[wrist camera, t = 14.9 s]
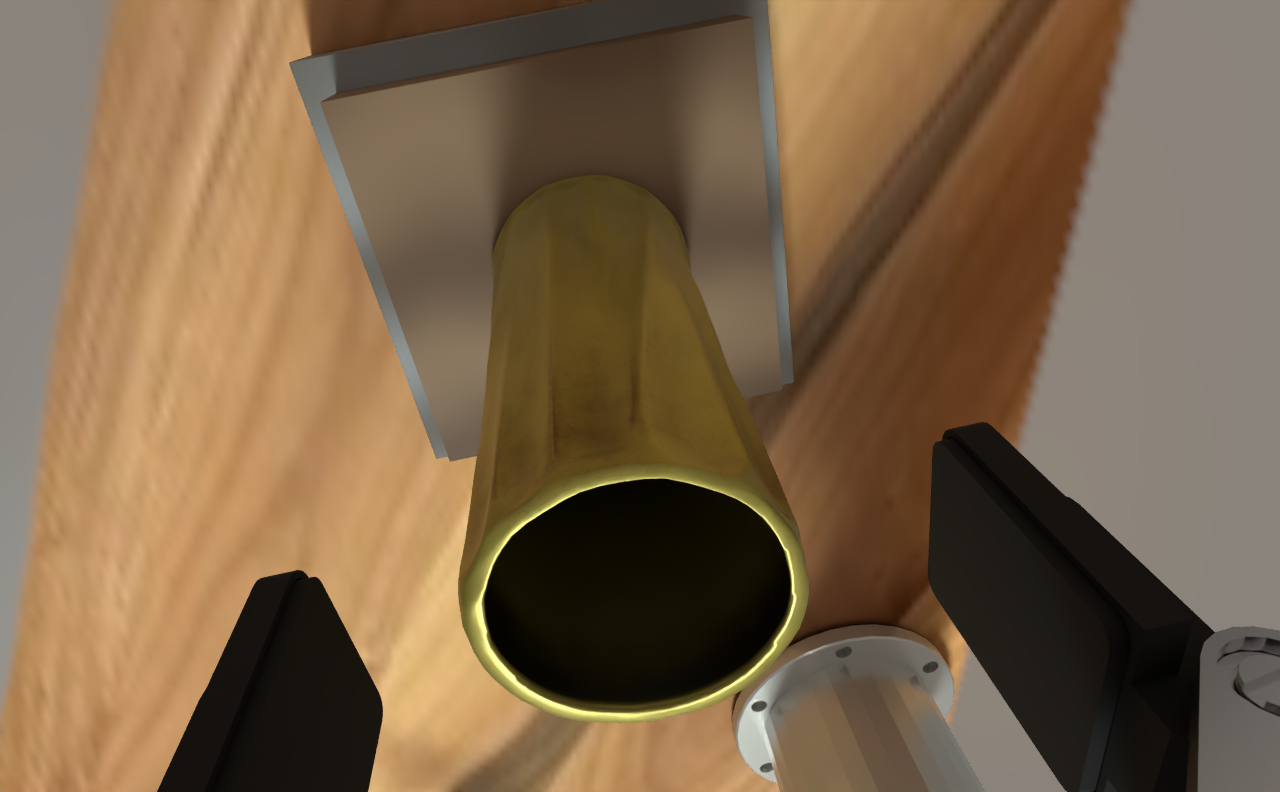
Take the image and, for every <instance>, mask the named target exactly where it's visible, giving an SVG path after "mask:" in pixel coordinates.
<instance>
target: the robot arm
mask: <svg viewBox="0 0 1280 792" xmlns="http://www.w3.org/2000/svg"><path fill="white" fill-rule="evenodd" d="M928 577H929V581H930V585H931V588H932V590H933V592H934V594H935V596H936V598H937V599H938V601H939V602H940V604H941V605H942V607H943V608H944V610H945V611H946V613H947V614H948V616H949V617H950V619H951V620H952V622H953V623H954V625H955V626H956V628H957V629H958V631H959V632H960V634H961V635H962V637H963V638H964V640H965V641H966V643H967V644H968V646H969V647H970V649H971V650H972V652H973V653H974V655H975V656H976V658H977V659H978V661H979V662H980V664H981V665H982V667H983V668H984V670H985V671H986V673H987V674H988V676H989V677H990V679H991V680H992V682H993V683H994V685H995V686H996V688H997V689H998V691H999V692H1000V694H1001V695H1002V697H1003V698H1004V700H1005V701H1006V703H1007V704H1008V706H1009V707H1010V709H1011V710H1012V712H1013V713H1014V715H1015V716H1016V718H1017V719H1018V721H1019V722H1020V724H1021V725H1022V727H1023V728H1024V730H1025V731H1026V733H1027V734H1028V736H1029V737H1030V739H1031V740H1032V742H1033V743H1034V745H1035V747H1036V748H1037V750H1038V751H1039V752H1040V754H1041V756H1042V757H1043V759H1044V760H1045V761H1046V763H1047V765H1048V766H1049V768H1050V769H1051V771H1052V772H1053V773H1054V775H1055V777H1056V778H1057V780H1058V781H1059V782H1060V784H1061V785H1062V786H1063V788H1064V789H1065V790H1066V791H1067V792H1280V631H1278V630H1273V629H1266V628H1260V627H1254V626H1251V627H1231V628H1228V629H1225V630H1222V631H1219V632H1214V631H1213V630H1212V629H1211V628H1210V627H1209V626H1208V625H1207V624H1205V623H1204V622H1203V621H1202V620H1201V619H1200V618H1199V617H1198V616H1197V615H1196V614H1195V613H1194V612H1193V611H1191V609H1190V608H1188V606H1186V605H1185V604H1184V603H1183V602H1182V601H1181V600H1180V599H1179V598H1178V597H1177V596H1176V595H1175V594H1174V593H1173V592H1172V591H1171V590H1170V589H1168V588H1167V587H1166V586H1165V585H1164V584H1163V583H1162V582H1161V581H1160V580H1159V579H1158V578H1157V577H1156V576H1155V575H1153V574H1152V573H1151V572H1150V571H1149V570H1148V569H1147V568H1146V567H1145V566H1144V565H1143V564H1142V563H1141V562H1140V561H1139V560H1138V559H1137V558H1136V557H1135V556H1133V555H1132V554H1131V553H1130V552H1129V551H1128V550H1127V549H1126V548H1125V547H1124V546H1123V545H1122V544H1121V543H1120V542H1119V541H1118V540H1117V539H1115V538H1114V537H1113V536H1112V535H1111V534H1110V533H1109V532H1108V531H1107V530H1106V529H1105V528H1104V527H1103V526H1102V525H1101V524H1100V523H1098V522H1097V521H1096V520H1095V519H1094V518H1093V517H1092V516H1091V515H1090V514H1089V513H1088V512H1087V511H1086V510H1085V509H1084V508H1083V507H1081V506H1080V505H1079V504H1078V503H1077V502H1075V501H1074V500H1073V499H1071V498H1069V497H1066V496H1065V495H1064V494H1063V493H1061V492H1060V491H1059V490H1058V489H1057V488H1056V487H1055V486H1054V485H1053V484H1052V483H1051V482H1050V481H1049V480H1048V479H1047V478H1046V477H1045V476H1044V475H1042V473H1040V472H1039V471H1038V470H1037V469H1036V468H1035V467H1034V466H1033V465H1032V464H1031V463H1030V462H1029V461H1028V460H1027V459H1026V458H1025V457H1024V456H1023V455H1022V454H1021V453H1019V452H1018V451H1017V450H1016V449H1015V448H1014V447H1013V446H1012V445H1011V444H1010V443H1009V442H1008V441H1007V440H1006V439H1005V438H1004V437H1003V436H1002V435H1001V434H1000V433H998V432H997V431H996V430H995V429H994V428H993V427H992V426H991V425H989V424H988V423H985V422H981V423H976V424H972V425H967V426H962V427H958V428H953V429H948V430H947V431H945V433H944V435H943V439H942V441H939V442H936V443H935V444H934V446H933V457H932V483H931V508H930V533H929V559H928ZM953 697H954V679H953V676H952V674H951V671H950V669H949V666H948V665H947V663H946V662H945V660H944V659H943V657H942V656H941V654H940V652H939V651H938V649H937V648H936V647H934V646H933V645H932V644H931V643H930V642H929V641H928V640H927V639H925V638H923V637H921V636H920V635H918V634H916V633H914V632H912V631H909V630H905V629H902V628H898V627H894V626H885V625H875V624H873V625H853V626H847V627H842V628H837V629H832V630H828V631H825V632H822V633H819V634H816V635H813V636H810V637H808V638H806V639H804V640H802V641H800V642H797V643H795V644H793V645H791V646H789V647H788V648H786V649H785V650H784V651H783V652H782V654H781V655H780V656H779V657H778V658H777V660H776V661H775V662H774V663H773V664H772V666H771V667H770V668H769V669H768V670H767V671H766V672H764V673H763V674H762V675H761V676H760V677H759V678H758V679H757V680H756V681H754V682H753V683H752V684H751V685H749V686H748V687H746V688H744V689H743V690H742V692H741V693H740V695H739V697H738V699H737V701H736V704H735V708H734V712H733V716H732V728H733V733H734V737H735V741H736V745H737V749H738V751H739V753H740V755H741V757H742V759H743V761H744V762H745V763H746V764H747V765H748V766H749V767H750V768H751V769H752V771H754V772H755V773H757V774H759V775H760V776H762V777H763V778H765V779H767V780H770V781H773V782H775V783H778V786H779V789H780V792H986V791H985V789H984V787H983V785H982V784H981V782H980V780H979V778H978V777H977V775H976V773H975V772H974V770H973V768H972V766H971V764H970V763H969V761H968V759H967V757H966V755H965V754H964V752H963V750H962V749H961V747H960V745H959V743H958V741H957V740H956V738H955V736H954V734H953V732H952V731H951V729H950V727H949V725H948V724H947V722H946V718H947V715H948V713H949V711H950V709H951V707H952V702H953ZM382 718H383V707H382V701H381V697H380V694H379V692H378V690H377V688H376V686H375V684H374V682H373V680H372V678H371V677H370V675H369V673H368V671H367V669H366V667H365V665H364V663H363V661H362V659H361V657H360V655H359V653H358V652H357V650H356V648H355V646H354V644H353V642H352V640H351V638H350V636H349V634H348V632H347V630H346V628H345V627H344V625H343V623H342V621H341V619H340V617H339V615H338V613H337V611H336V609H335V607H334V605H333V603H332V602H331V600H330V598H329V596H328V594H327V592H326V590H325V588H324V586H323V584H322V583H321V581H320V580H319V579H318V578H317V577H311V578H308V576H307V575H306V573H304V572H303V571H301V570H296V571H292V572H287V573H282V574H278V575H273V576H268V577H264V578H261V579H259V580H257V581H256V583H255V584H254V586H253V588H252V590H251V592H250V595H249V597H248V599H247V601H246V603H245V606H244V608H243V610H242V612H241V614H240V616H239V619H238V621H237V623H236V625H235V627H234V629H233V632H232V634H231V636H230V638H229V640H228V643H227V645H226V647H225V649H224V651H223V653H222V656H221V658H220V660H219V662H218V664H217V667H216V669H215V671H214V673H213V675H212V677H211V680H210V682H209V684H208V686H207V688H206V690H205V691H204V693H203V695H202V696H201V698H200V700H199V702H198V704H197V706H196V709H195V711H194V713H193V715H192V717H191V719H190V722H189V724H188V726H187V728H186V730H185V732H184V735H183V737H182V739H181V741H180V743H179V745H178V748H177V750H176V752H175V754H174V756H173V758H172V761H171V763H170V765H169V767H168V769H167V771H166V774H165V776H164V778H163V780H162V782H161V784H160V787H159V789H158V791H157V792H368V789H369V784H370V779H371V774H372V769H373V764H374V759H375V754H376V749H377V744H378V739H379V734H380V729H381V724H382Z"/></svg>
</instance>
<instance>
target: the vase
mask: <svg viewBox="0 0 1280 792" xmlns="http://www.w3.org/2000/svg"><path fill="white" fill-rule="evenodd" d="M492 274H493V282H494V284H493V299H492V309H491V337H490V346H489V355H488V362H487V377H486V390H485V398H484V407H483V417H482V428H481V437H480V443H479V449H478V454H477V460H476V467H475V473H474V480H473V488H472V496H471V504H470V512H469V518H468V525H467V532H466V539H465V544H464V550H463V555H462V560H461V565H460V573H459V579H458V597H459V605H460V612H461V618H462V625H463V628H464V630H465V632H466V635H467V637H468V639H469V642H470V644H471V646H472V649H473V651H474V653H475V655H476V656H477V658H478V659H479V661H480V663H481V664H482V666H483V667H484V669H485V670H486V671H487V672H488V673H489V674H490V675H491V676H492V677H493V678H494V679H495V681H497V682H498V683H499V684H500V685H501V686H503V687H504V688H505V689H506V690H507V691H509V692H510V693H512V694H513V695H515V696H516V697H517V698H519V699H520V700H522V701H524V702H526V703H528V704H530V705H532V706H534V707H537V708H539V709H541V710H543V711H545V712H548V713H551V714H553V715H556V716H559V717H563V718H568V719H573V720H580V721H588V722H602V723H640V722H649V721H655V720H659V719H664V718H669V717H674V716H678V715H682V714H686V713H690V712H694V711H697V710H700V709H703V708H707V707H710V706H712V705H714V704H716V703H719V702H721V701H723V700H725V699H727V698H729V697H731V696H732V695H734V694H736V693H738V692H740V691H741V690H743V689H744V688H746V687H748V686H749V685H751V684H752V683H753V682H754V681H756V680H757V679H758V678H759V677H760V676H761V675H762V674H763V673H764V672H766V671H767V670H768V669H769V668H770V667H771V666H772V664H773V663H774V662H775V661H776V660H777V658H778V657H779V656H780V655H781V654H782V652H783V651H784V650H785V649H786V647H787V646H788V645H789V644H790V642H791V641H792V639H793V638H794V636H795V635H796V633H797V632H798V630H799V628H800V626H801V623H802V620H803V618H804V615H805V611H806V607H807V603H808V597H809V579H808V575H807V569H806V563H805V557H804V552H803V548H802V544H801V538H800V533H799V528H798V525H797V522H796V520H795V517H794V515H793V513H792V511H791V509H790V506H789V504H788V502H787V499H786V497H785V494H784V492H783V489H782V487H781V484H780V482H779V479H778V477H777V475H776V472H775V470H774V468H773V466H772V463H771V461H770V459H769V456H768V454H767V452H766V449H765V447H764V445H763V442H762V440H761V438H760V435H759V433H758V431H757V428H756V426H755V424H754V421H753V419H752V417H751V414H750V412H749V410H748V407H747V405H746V403H745V400H744V398H743V396H742V394H741V392H740V391H739V389H738V387H737V385H736V383H735V381H734V379H733V377H732V374H731V372H730V370H729V368H728V365H727V362H726V359H725V357H724V354H723V351H722V348H721V345H720V342H719V339H718V337H717V334H716V331H715V329H714V326H713V324H712V321H711V318H710V316H709V313H708V311H707V308H706V305H705V303H704V300H703V297H702V295H701V293H700V290H699V288H698V286H697V284H696V282H695V280H694V278H693V276H692V274H691V263H690V258H689V254H688V249H687V246H686V243H685V239H684V236H683V234H682V231H681V228H680V226H679V224H678V223H677V221H676V219H675V217H674V216H673V215H672V214H671V212H670V211H669V210H668V209H667V207H666V206H665V205H664V204H663V203H662V202H661V201H660V200H659V199H657V198H656V197H655V196H654V195H653V194H651V193H650V192H649V191H647V190H646V189H644V188H642V187H640V186H638V185H636V184H633V183H631V182H628V181H625V180H622V179H618V178H614V177H610V176H604V175H586V176H579V177H573V178H568V179H564V180H560V181H556V182H553V183H550V184H547V185H545V186H543V187H542V188H540V189H539V190H537V191H536V192H534V193H533V194H532V195H530V196H529V197H528V198H527V199H525V200H524V201H523V202H522V203H521V204H520V205H519V206H518V207H517V208H516V209H514V211H513V212H512V213H511V215H510V216H509V218H508V219H507V221H506V223H505V224H504V226H503V228H502V230H501V232H500V235H499V237H498V240H497V242H496V245H495V249H494V253H493V257H492Z"/></svg>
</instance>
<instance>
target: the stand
mask: <svg viewBox="0 0 1280 792" xmlns="http://www.w3.org/2000/svg"><path fill="white" fill-rule="evenodd" d="M289 65H290V67H291V70H292V73H293V75H294V78H295V81H296V83H297V86H298V89H299V91H300V94H301V97H302V99H303V102H304V105H305V107H306V110H307V113H308V116H309V118H310V121H311V124H312V126H313V129H314V132H315V134H316V137H317V140H318V142H319V145H320V148H321V150H322V153H323V156H324V158H325V161H326V164H327V166H328V169H329V172H330V175H331V177H332V180H333V183H334V185H335V188H336V191H337V193H338V196H339V199H340V201H341V204H342V207H343V209H344V212H345V215H346V217H347V220H348V223H349V226H350V228H351V231H352V234H353V236H354V239H355V242H356V244H357V247H358V250H359V252H360V255H361V258H362V260H363V263H364V266H365V268H366V271H367V274H368V276H369V279H370V282H371V285H372V287H373V290H374V293H375V295H376V298H377V301H378V303H379V306H380V309H381V311H382V314H383V317H384V319H385V322H386V325H387V327H388V330H389V333H390V336H391V338H392V341H393V344H394V346H395V349H396V352H397V354H398V357H399V360H400V362H401V365H402V368H403V370H404V373H405V376H406V378H407V381H408V384H409V386H410V389H411V392H412V395H413V397H414V400H415V403H416V405H417V408H418V411H419V413H420V416H421V419H422V421H423V424H424V427H425V429H426V432H427V435H428V437H429V440H430V443H431V446H432V448H433V451H434V454H435V456H436V459H438V458H443V457H448V458H449V460H450V461H455V460H460V459H464V458H469V457H474V456H477V454H478V449H479V443H480V437H481V428H482V417H483V407H484V398H485V390H486V377H487V362H488V355H489V346H490V337H491V309H492V299H493V284H494V282H493V274H492V257H493V253H494V249H495V245H496V242H497V240H498V237H499V235H500V232H501V230H502V228H503V226H504V224H505V223H506V221H507V219H508V218H509V216H510V215H511V213H512V212H513V211H514V209H516V208H517V207H518V206H519V205H520V204H521V203H522V202H523V201H524V200H525V199H527V198H528V197H529V196H530V195H532V194H533V193H534V192H536V191H537V190H539V189H540V188H542V187H543V186H545V185H547V184H550V183H553V182H556V181H560V180H564V179H568V178H573V177H579V176H586V175H604V176H610V177H614V178H618V179H622V180H625V181H628V182H631V183H633V184H636V185H638V186H640V187H642V188H644V189H646V190H647V191H649V192H650V193H651V194H653V195H654V196H655V197H656V198H657V199H659V200H660V201H661V202H662V203H663V204H664V205H665V206H666V207H667V209H668V210H669V211H670V212H671V214H672V215H673V216H674V217H675V219H676V221H677V223H678V224H679V226H680V228H681V231H682V234H683V236H684V239H685V243H686V246H687V249H688V254H689V258H690V263H691V274H692V276H693V278H694V280H695V282H696V284H697V286H698V288H699V290H700V293H701V295H702V297H703V300H704V303H705V305H706V308H707V311H708V313H709V316H710V318H711V321H712V324H713V326H714V329H715V331H716V334H717V337H718V339H719V342H720V345H721V348H722V351H723V354H724V357H725V359H726V362H727V365H728V368H729V370H730V372H731V374H732V377H733V379H734V381H735V383H736V385H737V387H738V389H739V391H740V392H741V394H742V396H743V398H744V399H745V398H750V397H755V396H760V395H764V394H769V393H774V392H778V391H783V390H782V385H785V384H790V383H794V375H793V361H792V346H791V332H790V318H789V303H788V289H787V275H786V261H785V246H784V232H783V218H782V203H781V189H780V175H779V160H778V146H777V132H776V118H775V103H774V89H773V75H772V60H771V46H770V32H769V18H768V3H767V0H594V1H589V2H584V3H578V4H573V5H568V6H563V7H558V8H553V9H548V10H542V11H537V12H532V13H527V14H522V15H517V16H512V17H506V18H501V19H496V20H491V21H486V22H481V23H475V24H470V25H465V26H460V27H455V28H450V29H445V30H439V31H434V32H429V33H424V34H419V35H414V36H409V37H403V38H398V39H393V40H388V41H383V42H378V43H372V44H367V45H362V46H357V47H352V48H347V49H342V50H336V51H331V52H326V53H321V54H316V55H311V56H308V57H305V58H302V59H299V60H296V61H293V62H290V63H289Z"/></svg>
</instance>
